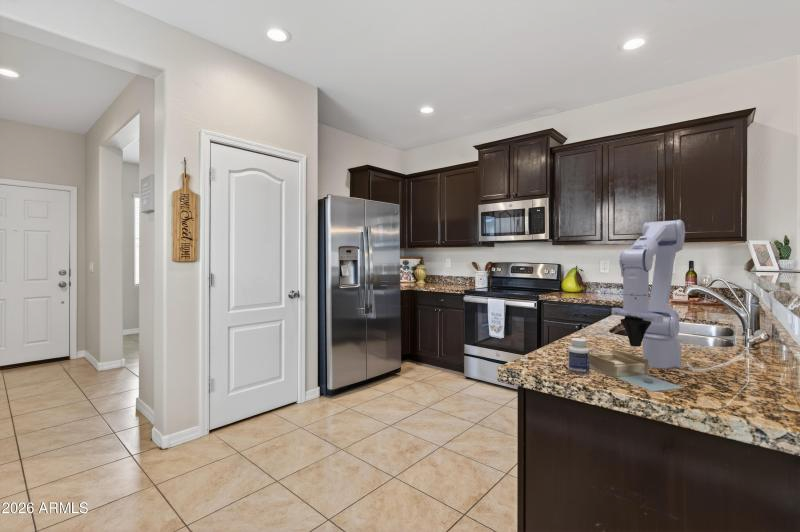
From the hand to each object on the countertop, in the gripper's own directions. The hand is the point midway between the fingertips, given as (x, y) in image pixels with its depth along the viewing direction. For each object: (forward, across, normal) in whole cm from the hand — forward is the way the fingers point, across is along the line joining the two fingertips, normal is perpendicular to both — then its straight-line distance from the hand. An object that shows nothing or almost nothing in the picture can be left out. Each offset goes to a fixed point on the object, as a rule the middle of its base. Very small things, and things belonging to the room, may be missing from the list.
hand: (635, 346), depth 101 cm
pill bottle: (+9, -9, -10) cm, 17 cm away
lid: (+10, +4, 0) cm, 11 cm away
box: (+9, -8, 0) cm, 12 cm away
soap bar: (+8, -8, 0) cm, 11 cm away
